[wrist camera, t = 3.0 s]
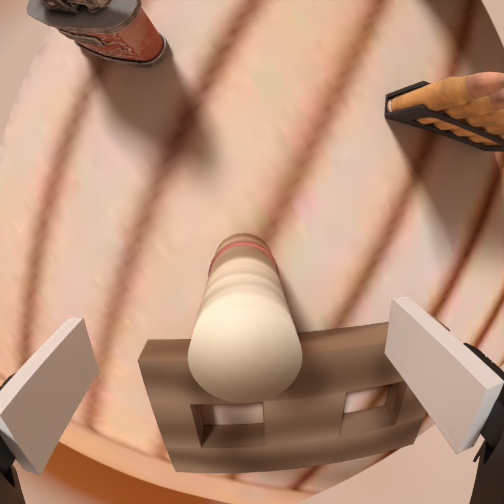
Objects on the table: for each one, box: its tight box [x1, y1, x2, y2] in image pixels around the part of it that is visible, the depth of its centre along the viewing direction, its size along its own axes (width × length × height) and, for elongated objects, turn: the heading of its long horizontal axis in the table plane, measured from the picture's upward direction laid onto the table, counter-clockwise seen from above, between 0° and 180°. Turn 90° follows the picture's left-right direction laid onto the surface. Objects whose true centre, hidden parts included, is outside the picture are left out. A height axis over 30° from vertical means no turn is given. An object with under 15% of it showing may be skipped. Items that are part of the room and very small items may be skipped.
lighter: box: [27, 0, 168, 68], centre depth 13 cm, size 8×3×10 cm, turn 63°
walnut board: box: [138, 315, 450, 473], centre depth 24 cm, size 14×24×3 cm, turn 93°
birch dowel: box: [188, 233, 302, 403], centre depth 16 cm, size 4×4×12 cm
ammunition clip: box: [385, 72, 504, 151], centre depth 14 cm, size 11×2×12 cm, turn 84°
